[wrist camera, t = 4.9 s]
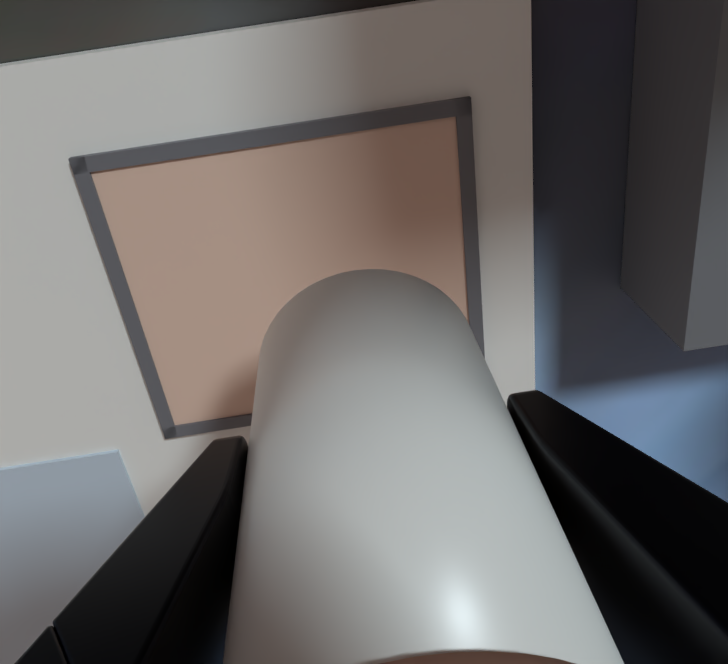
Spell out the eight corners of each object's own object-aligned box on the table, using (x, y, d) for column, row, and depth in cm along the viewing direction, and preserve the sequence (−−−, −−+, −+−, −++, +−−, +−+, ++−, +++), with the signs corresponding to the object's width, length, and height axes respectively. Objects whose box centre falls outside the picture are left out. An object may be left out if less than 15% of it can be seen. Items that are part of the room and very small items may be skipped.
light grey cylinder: (476, 245, 10) (856, 862, 3) (486, 442, 12) (742, 1111, 5) (228, 283, 10) (56, 987, 3) (277, 474, 12) (237, 1190, 5)
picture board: (518, -15, 13) (533, -14, 12) (529, 575, 20) (538, 602, 19) (-547, 147, 12) (-607, 160, 12) (-129, 679, 20) (-148, 710, 19)
